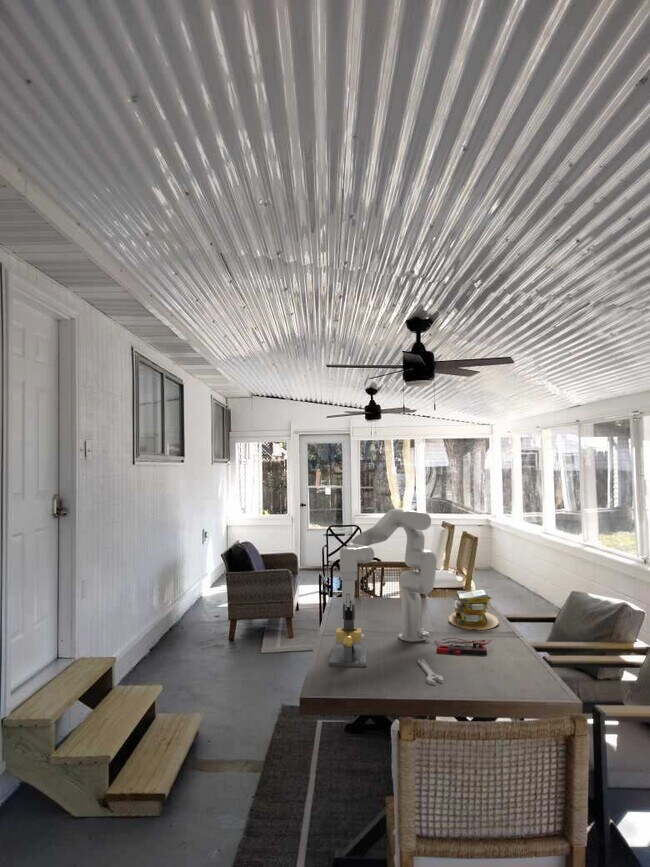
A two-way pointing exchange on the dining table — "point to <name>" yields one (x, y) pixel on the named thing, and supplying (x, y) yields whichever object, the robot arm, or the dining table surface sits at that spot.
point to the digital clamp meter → (463, 648)
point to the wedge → (349, 623)
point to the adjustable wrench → (430, 673)
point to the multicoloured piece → (349, 649)
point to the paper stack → (472, 611)
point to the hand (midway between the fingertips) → (349, 618)
